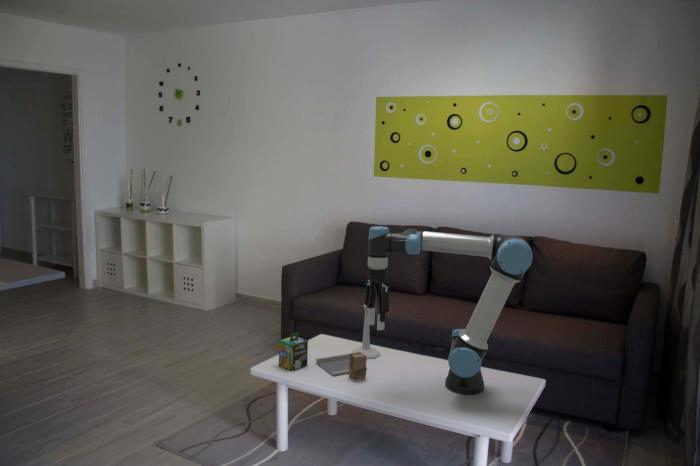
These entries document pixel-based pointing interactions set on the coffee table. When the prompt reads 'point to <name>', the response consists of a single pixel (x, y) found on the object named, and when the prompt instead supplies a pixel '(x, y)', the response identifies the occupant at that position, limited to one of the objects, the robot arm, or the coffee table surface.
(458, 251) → the robot arm
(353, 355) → the block
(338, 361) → the grey flat square piece
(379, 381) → the coffee table surface
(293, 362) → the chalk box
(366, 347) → the candlestick
